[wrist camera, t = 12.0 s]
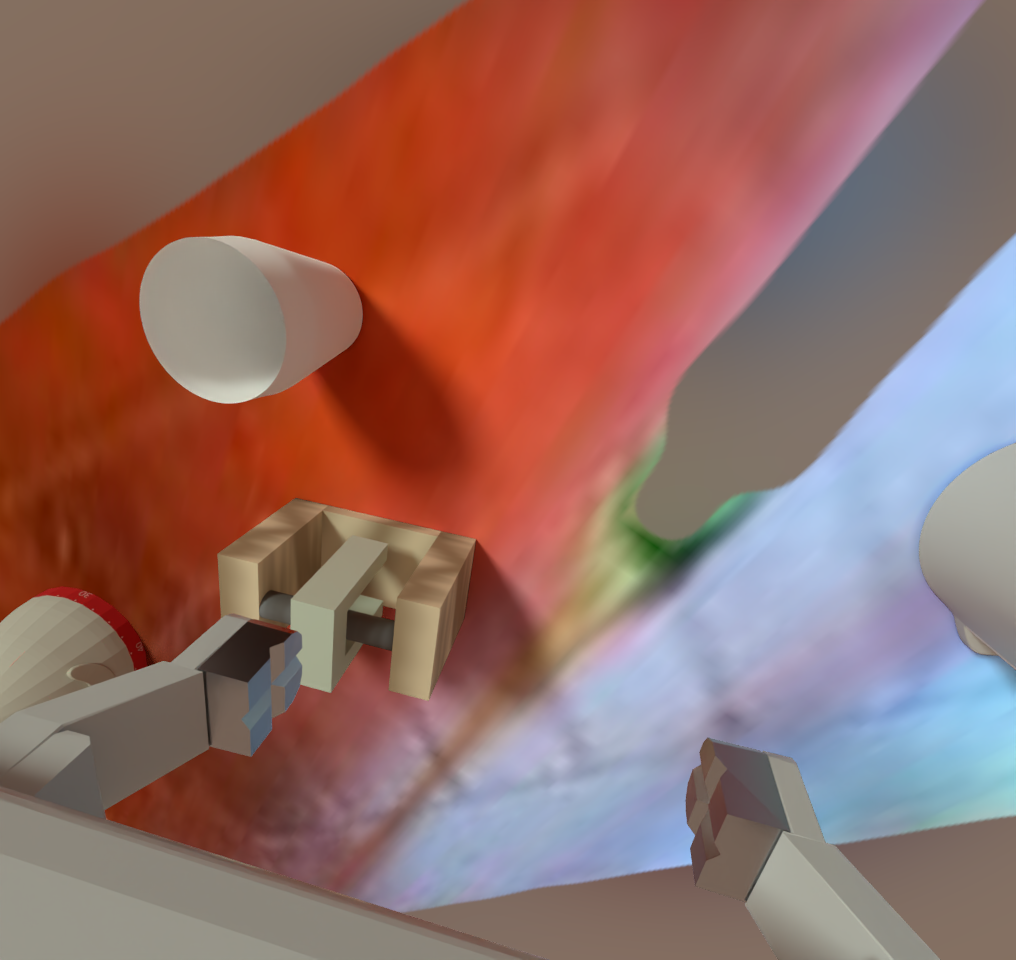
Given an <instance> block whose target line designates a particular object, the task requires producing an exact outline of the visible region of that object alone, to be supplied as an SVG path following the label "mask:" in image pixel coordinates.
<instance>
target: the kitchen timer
mask: <svg viewBox="0 0 1016 960" xmlns="http://www.w3.org/2000/svg"><path fill="white" fill-rule="evenodd" d="M145 667H147V660H146V652H145V650H144V647H143V645H142V643H141V640H140V638H139V636H138V634H137V633H136V631H135V630H134V629H133V627H132V626H131V624H130V623H129V622H128V620H127V619H126V618H125V617H124V616H122V615H121V614H120V613H119V612H118V611H117V610H116V609H115V608H114V607H113V606H111V605H110V604H108V603H107V602H105V601H104V600H102V599H101V598H99V597H98V596H96V595H93V594H91V593H88V592H86V591H83V590H81V589H76V588H69V587H58V588H52V589H48V590H46V591H44V592H42V593H40V594H39V595H37V596H35V597H33V598H32V599H30V600H29V601H27V602H26V603H24V604H23V605H21V606H20V607H18V608H17V609H16V610H14V611H13V612H12V613H11V614H9V615H8V616H7V617H6V618H5V619H4V620H3V621H2V622H1V623H0V723H2V722H3V721H4V720H6V719H7V718H8V717H10V716H11V715H12V714H14V713H15V712H17V711H20V710H23V709H26V708H29V707H32V706H35V705H37V704H40V703H43V702H46V701H49V700H52V699H55V698H58V697H61V696H64V695H66V694H69V693H72V692H75V691H78V690H81V689H84V688H87V687H90V686H93V685H95V684H98V683H101V682H104V681H107V680H110V679H113V678H116V677H119V676H122V675H124V674H127V673H130V672H133V671H136V670H139V669H142V668H145Z"/></svg>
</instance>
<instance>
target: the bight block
mask: <svg viewBox="0 0 1016 960" xmlns="http://www.w3.org/2000/svg"><path fill="white" fill-rule="evenodd" d="M387 552H388V544H387V543H383V542H379V541H375V540H371V539H367V538H363V537H359V536H355V535H352V536H351V537H350V538H349V539H348V540H347V541H346V542H345V543H344V544H343V545H342V546H341V547H340V548H339V549H338V550H337V552H336V553H335V554H334V555H333V556H332V557H331V558H330V559H329V560H328V561H327V562H326V563H325V564H324V565H323V566H322V567H321V568H320V569H319V570H318V571H317V572H316V573H315V574H314V575H313V577H312V578H311V579H310V580H309V581H308V582H307V583H306V584H305V585H304V586H303V587H302V588H301V589H300V590H299V591H298V592H297V593H296V594H295V595H294V596H293V597H292V598H291V630H295V631H298V632H299V633H300V634H302V649H301V650H300V651H299V653H298V654H297V655H296V656H297V658H298V660H299V661H300V663H301V664H302V677H301V682H300V684H301V685H305V686H308V687H312V688H315V689H319V690H323V691H326V692H330V693H331V692H332V690H333V689H334V687H335V686H336V684H337V683H338V681H339V680H340V678H341V677H342V675H343V674H344V672H345V671H346V669H347V668H348V666H349V665H350V663H351V662H352V660H353V659H354V657H355V656H356V654H357V653H358V651H359V649H360V648H361V646H362V645H363V643H359V642H355V641H351V640H347V639H346V628H347V611H348V610H353V611H357V612H361V613H365V614H369V615H373V616H377V617H381V616H382V611H383V600H379V599H375V598H371V597H367V596H363V595H360V594H361V593H362V592H363V590H364V589H365V588H366V586H367V585H368V584H369V582H370V581H371V580H372V578H373V577H374V576H375V575H376V573H377V572H378V571H379V569H380V568H381V567H382V565H383V564H384V563H385V562H386V560H387Z"/></svg>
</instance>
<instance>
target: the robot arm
mask: <svg viewBox="0 0 1016 960" xmlns="http://www.w3.org/2000/svg"><path fill="white" fill-rule="evenodd" d="M919 559H920V565H921V569H922V572H923V575H924V577H925V579H926V581H927V583H928V585H929V586H930V588H931V589H932V591H933V592H934V593H935V594H936V595H937V596H938V597H939V598H940V599H941V600H942V601H943V603H944V604H945V605H946V606H947V607H948V608H949V609H950V610H951V612H952V613H953V615H954V618H955V623H956V627H957V631H958V634H959V636H960V639H961V640H962V642H963V643H964V644H966V645H967V646H968V647H969V648H970V649H972V650H973V651H974V652H976V653H979V654H984V655H996V656H1000V657H1001V658H1002V659H1003V660H1005V661H1006V662H1007V663H1008V664H1009V665H1010V666H1012V667H1013V668H1014V669H1015V670H1016V443H1014V444H1011V445H1009V446H1006V447H1004V448H1001V449H999V450H997V451H995V452H993V453H991V454H989V455H988V456H986V457H984V458H982V459H981V460H979V461H977V462H976V463H974V464H973V465H971V466H970V467H969V468H967V469H966V470H965V471H963V472H962V473H961V474H960V475H959V476H957V477H956V478H955V479H954V480H953V481H952V482H951V483H950V484H949V485H948V486H947V487H946V488H945V490H944V491H943V492H942V493H941V494H940V496H939V497H938V498H937V500H936V501H935V503H934V504H933V506H932V507H931V509H930V511H929V513H928V515H927V517H926V519H925V522H924V525H923V527H922V531H921V535H920V541H919ZM301 649H302V634H300V633H299V632H298V631H295V630H291V629H288V628H284V627H281V626H277V625H274V624H270V623H267V622H263V621H260V620H257V619H251V618H247V617H244V616H241V615H237V614H234V613H231V614H228V615H225V616H224V617H222V618H221V619H220V620H219V621H218V622H217V623H216V624H214V625H213V626H212V627H211V628H210V629H209V630H208V631H206V632H205V633H204V634H203V635H202V636H201V637H199V638H198V639H197V640H196V641H195V642H194V643H193V644H191V645H190V646H189V647H188V648H187V649H186V650H185V651H183V652H182V653H181V654H180V655H179V656H178V657H177V658H175V659H174V660H173V661H172V662H171V663H169V662H165V661H162V662H159V663H156V664H153V665H151V666H148V667H145V668H142V669H139V670H136V671H133V672H130V673H127V674H124V675H122V676H119V677H116V678H113V679H110V680H107V681H104V682H101V683H98V684H95V685H93V686H90V687H87V688H84V689H81V690H78V691H75V692H72V693H69V694H66V695H64V696H61V697H58V698H55V699H52V700H49V701H46V702H43V703H40V704H37V705H35V706H32V707H29V708H26V709H23V710H20V711H17V712H15V713H14V714H12V715H11V716H10V717H8V718H7V719H6V720H4V721H3V722H2V723H0V960H548V959H545V958H542V957H539V956H535V955H532V954H529V953H526V952H523V951H520V950H516V949H513V948H510V947H507V946H504V945H501V944H497V943H494V942H491V941H488V940H485V939H481V938H478V937H475V936H472V935H469V934H466V933H462V932H459V931H456V930H453V929H450V928H447V927H444V926H440V925H437V924H434V923H431V922H428V921H424V920H422V919H418V918H415V917H412V916H409V915H406V914H403V913H400V912H396V911H393V910H390V909H387V908H384V907H381V906H378V905H374V904H371V903H368V902H365V901H362V900H359V899H356V898H352V897H349V896H346V895H343V894H340V893H337V892H333V891H330V890H327V889H324V888H321V887H318V886H315V885H311V884H308V883H305V882H302V881H299V880H296V879H293V878H289V877H286V876H283V875H280V874H277V873H274V872H270V871H267V870H264V869H261V868H258V867H255V866H251V865H248V864H245V863H242V862H239V861H236V860H233V859H229V858H226V857H223V856H220V855H217V854H214V853H210V852H207V851H204V850H201V849H198V848H195V847H191V846H188V845H185V844H182V843H179V842H176V841H172V840H169V839H166V838H163V837H160V836H157V835H154V834H150V833H147V832H144V831H141V830H138V829H135V828H131V827H128V826H125V825H122V824H119V823H116V822H112V821H109V820H106V817H105V812H104V810H105V809H107V808H109V807H110V806H112V805H114V804H116V803H117V802H119V801H121V800H122V799H124V798H126V797H127V796H129V795H131V794H133V793H134V792H136V791H138V790H139V789H141V788H143V787H145V786H146V785H148V784H150V783H151V782H153V781H155V780H156V779H158V778H160V777H162V776H163V775H165V774H167V773H168V772H170V771H172V770H174V769H175V768H177V767H179V766H180V765H182V764H184V763H185V762H187V761H189V760H191V759H192V758H194V757H196V756H197V755H199V754H201V753H202V752H204V751H206V750H208V749H209V746H211V747H215V748H219V749H222V750H226V751H230V752H234V753H238V754H242V755H246V756H250V757H251V756H252V755H253V753H254V752H255V751H256V749H257V748H258V747H259V746H260V744H261V743H262V742H263V740H264V739H265V738H266V736H267V735H268V734H269V732H270V731H271V730H272V718H273V717H276V716H278V715H280V714H282V713H284V712H285V711H286V710H287V708H288V707H289V706H290V704H291V703H292V701H293V700H294V698H295V695H296V693H297V691H298V689H299V686H300V682H301V677H302V664H301V663H300V661H299V660H298V658H297V656H296V655H297V654H298V653H299V651H300V650H301ZM700 758H701V765H700V766H698V767H696V768H695V769H693V770H692V773H691V776H690V779H689V782H688V787H687V794H686V817H687V824H688V826H689V827H690V829H691V830H692V831H693V833H694V834H695V838H694V840H693V843H692V845H691V848H690V850H691V858H692V865H693V873H694V880H695V886H696V887H699V888H702V889H705V890H708V891H712V892H715V893H718V894H721V895H724V896H727V897H730V898H733V899H737V900H740V901H743V902H746V904H745V906H746V907H747V909H748V911H749V913H750V914H751V916H752V917H753V919H754V921H755V922H756V924H757V926H758V927H759V929H760V931H761V932H762V934H763V936H764V937H765V939H766V941H767V942H768V944H769V946H770V947H771V949H772V951H773V952H774V954H775V956H776V957H777V959H778V960H940V959H939V958H938V956H937V955H936V954H935V953H934V952H933V951H932V950H931V949H930V948H929V947H928V946H927V945H926V943H924V941H923V940H922V939H921V938H920V937H919V936H918V935H917V934H916V933H915V932H914V931H913V929H912V928H911V927H910V926H909V925H908V924H907V923H906V922H905V921H904V920H903V919H902V918H901V917H900V915H899V914H898V913H897V912H896V911H895V910H894V909H893V908H892V907H891V906H890V905H889V904H888V902H886V900H885V899H884V898H883V897H882V896H881V895H880V894H879V893H878V892H877V891H876V890H875V888H874V887H873V886H872V885H871V884H870V883H869V882H868V881H867V880H866V879H865V878H864V877H863V875H861V873H860V872H859V871H858V870H857V869H856V868H855V867H854V866H853V865H852V864H851V863H850V861H849V860H848V859H847V858H846V857H845V856H844V855H843V854H842V853H841V852H840V851H839V850H838V848H837V847H836V846H835V845H832V844H828V843H826V842H825V840H824V837H823V834H822V832H821V829H820V826H819V823H818V821H817V818H816V815H815V813H814V810H813V807H812V804H811V802H810V799H809V796H808V794H807V791H806V788H805V785H804V783H803V780H802V777H801V775H800V772H799V769H798V766H797V764H796V762H795V761H794V760H793V759H792V758H790V757H786V756H781V755H777V754H773V753H769V752H765V751H763V752H762V751H760V750H756V749H752V748H748V747H744V746H740V745H736V744H732V743H728V742H724V741H720V740H716V739H712V738H707V739H706V740H705V741H704V743H703V745H702V747H701V750H700Z"/></svg>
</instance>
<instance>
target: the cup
mask: <svg viewBox="0 0 1016 960" xmlns="http://www.w3.org/2000/svg"><path fill="white" fill-rule="evenodd" d="M140 314H141V320H142V324H143V328H144V331H145V335H146V337H147V340H148V342H149V344H150V346H151V348H152V351H153V352H154V354H155V356H156V357H157V359H158V360H159V362H160V363H161V365H162V366H163V367H164V368H165V370H166V371H167V372H168V373H169V374H170V375H171V376H172V377H173V378H174V379H175V380H176V381H177V382H178V383H179V384H181V385H182V386H183V387H184V388H186V389H187V390H189V391H190V392H192V393H194V394H196V395H198V396H200V397H202V398H205V399H207V400H210V401H214V402H219V403H239V402H244V401H248V400H251V399H255V398H259V397H263V396H268V395H273V394H276V393H280V392H282V391H284V390H286V389H288V388H290V387H292V386H293V385H295V384H296V383H298V382H299V381H301V380H302V379H304V378H305V377H307V376H308V375H310V374H311V373H312V372H314V371H315V370H317V369H318V368H320V367H321V366H323V365H324V364H326V363H327V362H328V361H330V360H331V359H333V358H334V357H336V356H337V355H339V354H340V353H342V352H343V351H344V350H346V349H347V348H348V347H350V346H351V345H352V344H353V342H354V341H355V340H356V338H357V337H358V335H359V332H360V330H361V326H362V320H363V310H362V303H361V300H360V297H359V294H358V292H357V289H356V288H355V286H354V284H353V283H352V281H351V280H350V279H349V278H348V277H347V276H346V275H345V274H344V273H343V272H342V271H341V270H339V269H338V268H336V267H335V266H333V265H331V264H328V263H325V262H322V261H319V260H316V259H313V258H310V257H307V256H303V255H300V254H297V253H294V252H291V251H288V250H285V249H282V248H279V247H276V246H273V245H270V244H266V243H263V242H260V241H257V240H254V239H249V238H245V237H239V236H220V237H189V238H183V239H180V240H177V241H174V242H172V243H170V244H168V245H167V246H165V247H164V248H162V249H161V250H160V251H159V252H158V253H157V254H156V255H155V256H154V257H153V259H152V260H151V262H150V263H149V265H148V267H147V269H146V271H145V273H144V276H143V280H142V284H141V289H140Z"/></svg>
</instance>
